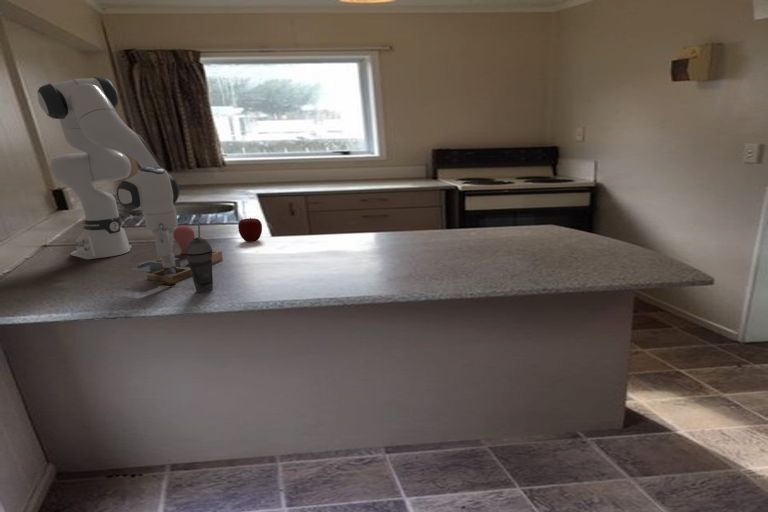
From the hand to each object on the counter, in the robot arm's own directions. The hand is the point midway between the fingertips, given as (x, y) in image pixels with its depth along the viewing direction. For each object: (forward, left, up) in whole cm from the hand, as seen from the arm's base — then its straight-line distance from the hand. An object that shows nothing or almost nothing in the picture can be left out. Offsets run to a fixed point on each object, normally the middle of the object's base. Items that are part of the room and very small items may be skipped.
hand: (169, 265), depth 142 cm
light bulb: (-18, +23, -5) cm, 29 cm away
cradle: (-13, +6, -5) cm, 15 cm away
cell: (0, 0, -2) cm, 3 cm away
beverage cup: (+17, -4, -5) cm, 19 cm away
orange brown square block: (-2, +16, -5) cm, 17 cm away
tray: (0, 0, -5) cm, 5 cm away
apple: (-10, +50, -5) cm, 51 cm away
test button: (-9, +6, -3) cm, 11 cm away
